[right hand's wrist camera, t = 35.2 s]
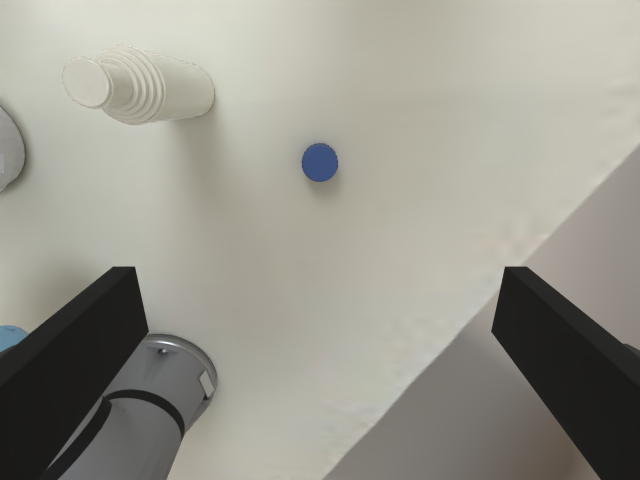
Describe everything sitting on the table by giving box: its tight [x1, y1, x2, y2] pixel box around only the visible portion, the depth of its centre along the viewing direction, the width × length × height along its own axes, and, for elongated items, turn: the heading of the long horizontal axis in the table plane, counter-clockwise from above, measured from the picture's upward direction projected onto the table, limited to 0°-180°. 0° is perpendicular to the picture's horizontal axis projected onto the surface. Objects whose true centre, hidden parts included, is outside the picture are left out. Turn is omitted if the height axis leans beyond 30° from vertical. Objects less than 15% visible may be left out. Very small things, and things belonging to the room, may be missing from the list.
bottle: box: [62, 44, 215, 125], centre depth 30 cm, size 6×6×19 cm
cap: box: [302, 143, 338, 182], centre depth 41 cm, size 4×4×2 cm
